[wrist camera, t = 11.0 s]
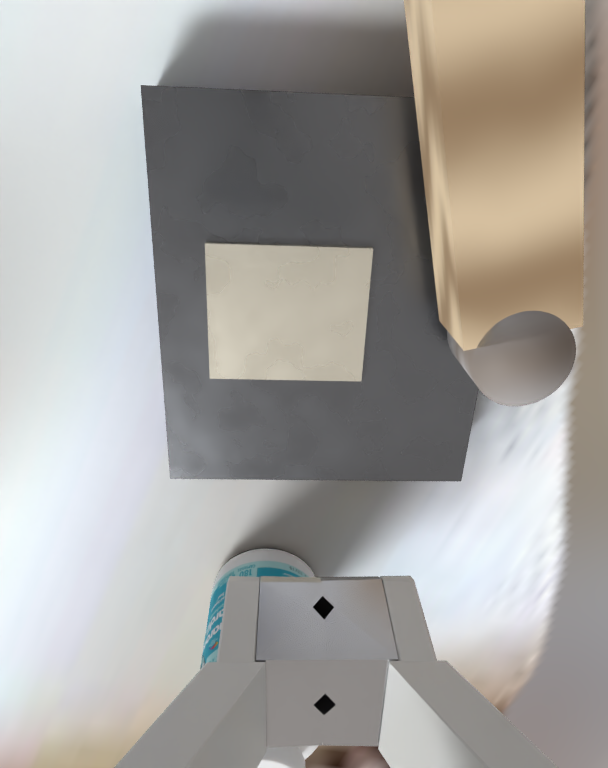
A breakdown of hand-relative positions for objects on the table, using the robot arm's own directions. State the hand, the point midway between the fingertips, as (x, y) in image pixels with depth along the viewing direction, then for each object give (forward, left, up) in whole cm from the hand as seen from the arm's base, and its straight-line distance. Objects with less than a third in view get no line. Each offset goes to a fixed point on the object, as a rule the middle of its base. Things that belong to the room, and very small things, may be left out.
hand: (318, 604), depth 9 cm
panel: (+1, +2, -23) cm, 23 cm away
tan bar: (-7, +8, -19) cm, 21 cm away
